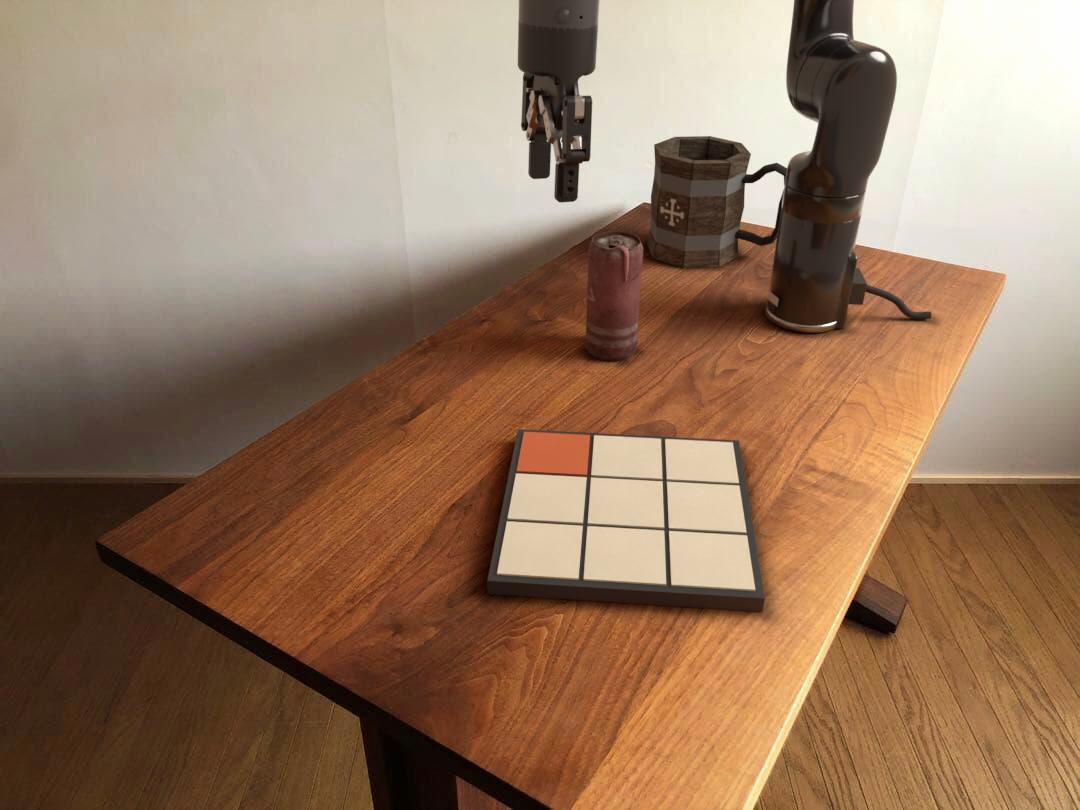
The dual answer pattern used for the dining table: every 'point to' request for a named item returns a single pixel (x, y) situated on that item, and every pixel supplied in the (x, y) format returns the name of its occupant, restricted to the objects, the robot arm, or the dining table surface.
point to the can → (613, 295)
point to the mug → (702, 201)
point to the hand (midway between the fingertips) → (551, 189)
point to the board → (627, 522)
